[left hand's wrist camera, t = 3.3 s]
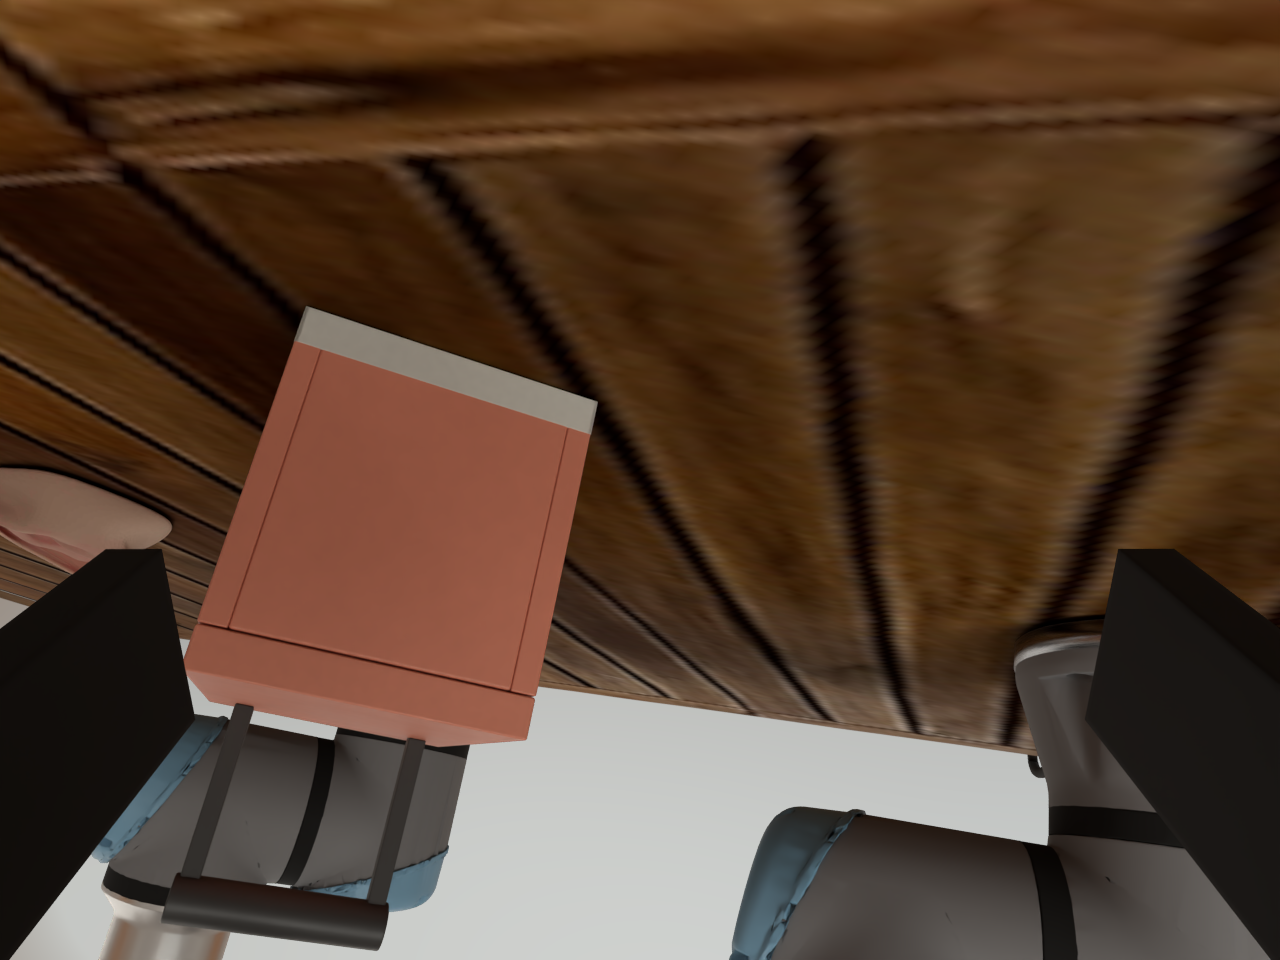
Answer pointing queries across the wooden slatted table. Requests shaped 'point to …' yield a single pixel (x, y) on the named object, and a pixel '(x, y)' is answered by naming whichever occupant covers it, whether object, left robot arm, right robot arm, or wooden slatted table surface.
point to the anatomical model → (71, 518)
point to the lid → (336, 698)
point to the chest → (405, 509)
